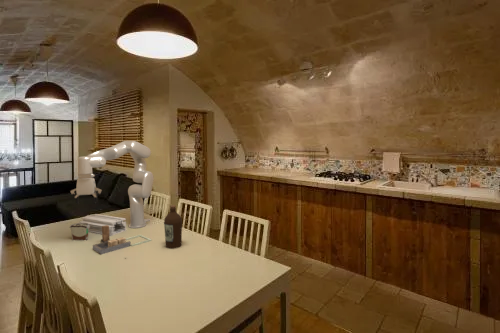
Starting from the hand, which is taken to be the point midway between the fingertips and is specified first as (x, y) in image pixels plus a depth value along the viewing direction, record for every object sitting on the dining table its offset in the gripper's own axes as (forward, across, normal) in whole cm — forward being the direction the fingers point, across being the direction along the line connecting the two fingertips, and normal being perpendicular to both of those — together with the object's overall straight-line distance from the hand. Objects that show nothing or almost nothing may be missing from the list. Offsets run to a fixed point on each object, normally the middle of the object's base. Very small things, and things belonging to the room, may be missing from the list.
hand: (86, 203), depth 175 cm
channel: (+25, -18, +15) cm, 34 cm away
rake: (+25, -11, +4) cm, 28 cm away
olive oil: (+25, -53, +16) cm, 61 cm away
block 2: (+24, -22, +11) cm, 34 cm away
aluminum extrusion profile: (+26, -1, -26) cm, 36 cm away
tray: (+25, -29, +6) cm, 39 cm away
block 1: (+24, -18, +14) cm, 33 cm away
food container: (+25, +7, -10) cm, 28 cm away
